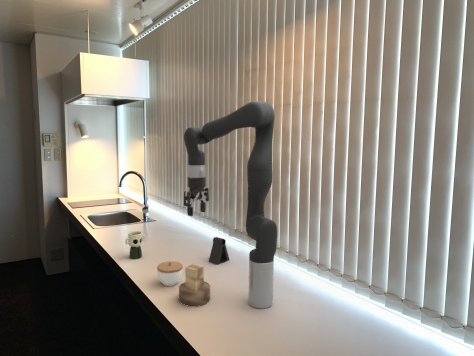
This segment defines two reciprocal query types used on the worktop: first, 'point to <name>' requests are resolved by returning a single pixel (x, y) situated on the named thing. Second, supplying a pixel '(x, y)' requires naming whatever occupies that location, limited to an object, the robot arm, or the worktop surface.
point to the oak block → (194, 276)
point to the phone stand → (218, 251)
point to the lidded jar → (169, 272)
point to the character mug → (135, 243)
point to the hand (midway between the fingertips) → (196, 213)
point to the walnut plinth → (194, 295)
